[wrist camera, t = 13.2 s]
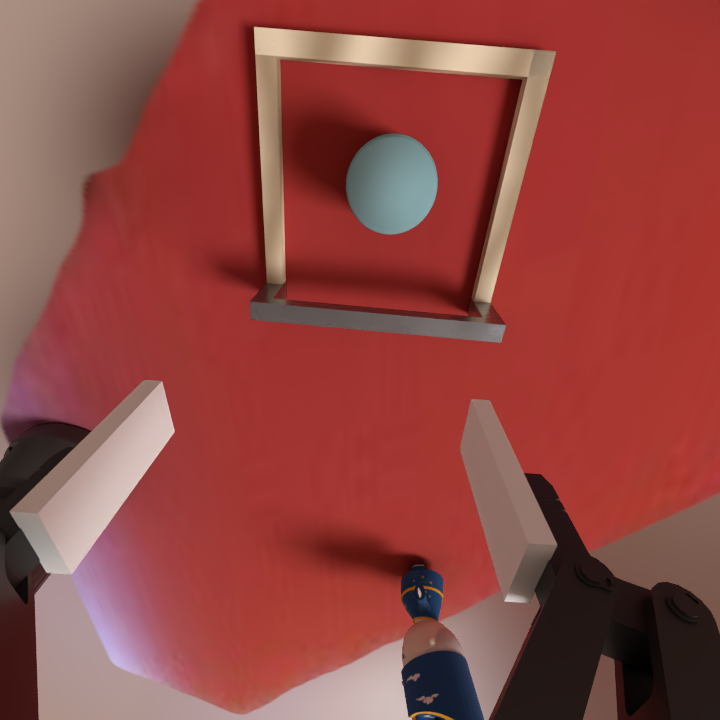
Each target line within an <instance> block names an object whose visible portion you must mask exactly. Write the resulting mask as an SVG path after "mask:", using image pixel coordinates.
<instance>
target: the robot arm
mask: <svg viewBox="0 0 720 720" xmlns="http://www.w3.org/2000/svg"><path fill="white" fill-rule="evenodd" d="M174 432H175V431H174V427H173V423H172V419H171V415H170V411H169V407H168V403H167V399H166V395H165V391H164V387H163V383H162V381H152V380H144V381H143V382H142V383H141V384H140V385H138V386H137V387H136V388H135V389H134V390H133V391H132V392H131V393H130V394H129V395H128V396H127V397H126V398H125V399H124V400H123V401H122V402H121V403H120V404H119V405H118V406H117V407H116V408H115V409H114V410H113V411H112V412H111V413H110V414H109V415H108V416H107V417H106V418H105V419H104V420H103V421H102V422H101V423H100V424H99V425H98V426H96V427H95V428H94V429H93V430H92V431H91V432H89V431H87V430H84V429H81V428H78V427H75V426H71V425H66V424H58V423H48V424H41V425H37V426H34V427H32V428H30V429H29V430H27V431H26V432H25V433H23V434H22V435H21V436H20V437H18V438H17V439H16V440H15V441H13V443H12V444H11V445H10V446H9V447H8V449H7V451H6V452H5V454H4V458H3V459H2V460H1V462H0V720H39V719H38V689H37V661H36V632H35V601H34V595H35V593H36V592H37V591H38V590H39V588H40V587H41V586H42V585H43V583H44V582H45V581H46V579H47V578H48V577H49V576H50V574H51V573H58V574H72V573H73V572H74V570H75V569H76V568H77V566H78V565H79V564H80V562H81V561H82V559H83V558H84V557H85V555H86V554H87V552H88V551H89V550H90V548H91V547H92V546H93V544H94V543H95V541H96V540H97V539H98V537H99V536H100V534H101V533H102V532H103V530H104V529H105V528H106V526H107V525H108V523H109V522H110V521H111V519H112V518H113V516H114V515H115V514H116V512H117V511H118V510H119V508H120V507H121V505H122V504H123V503H124V502H125V500H126V499H127V498H128V496H129V495H130V494H131V492H132V490H133V489H134V487H135V486H136V485H137V483H138V482H139V480H140V479H141V478H142V476H143V475H144V474H145V472H146V471H147V469H148V468H149V467H150V465H151V464H152V462H153V461H154V460H155V458H156V457H157V456H158V454H159V453H160V451H161V450H162V449H163V447H164V446H165V444H166V443H167V442H168V440H169V439H170V438H171V436H172V435H173V433H174ZM460 451H461V455H462V458H463V461H464V465H465V468H466V472H467V475H468V479H469V482H470V486H471V489H472V492H473V496H474V499H475V503H476V506H477V510H478V513H479V517H480V520H481V523H482V527H483V530H484V534H485V537H486V541H487V544H488V548H489V551H490V554H491V558H492V561H493V565H494V568H495V572H496V575H497V579H498V582H499V585H500V589H501V592H502V596H503V599H504V601H506V602H523V603H530V601H531V599H532V597H533V595H534V593H536V595H537V598H538V601H539V604H540V608H539V610H538V612H537V614H536V616H535V618H534V620H533V622H532V624H531V625H532V626H531V628H530V630H529V632H528V634H527V637H526V639H525V641H524V643H523V645H522V648H521V650H520V652H519V654H518V656H517V659H516V661H515V663H514V666H513V668H512V670H511V672H510V674H509V676H508V679H507V681H506V683H505V685H504V687H503V690H502V692H501V694H500V696H499V699H498V701H497V703H496V705H495V707H494V710H493V712H492V714H491V716H490V718H489V720H583V717H584V713H585V709H586V706H587V702H588V699H589V695H590V691H591V688H592V685H593V681H594V677H595V674H596V670H597V667H598V663H599V660H600V656H601V654H603V655H605V656H608V657H610V658H613V659H614V661H615V679H616V696H617V712H618V713H617V714H618V720H720V634H719V631H718V627H717V624H716V621H715V619H714V617H713V615H712V613H711V611H710V610H709V609H708V608H707V607H706V605H704V603H703V602H702V601H701V600H700V599H698V598H697V597H696V596H695V595H694V594H692V593H691V592H690V591H688V590H686V589H684V588H682V587H681V586H679V585H676V584H672V583H669V582H661V583H657V584H656V585H655V586H654V587H653V588H652V589H651V590H648V589H646V588H643V587H640V586H637V585H634V584H631V583H629V582H626V581H623V580H620V579H618V578H616V577H614V575H613V574H612V573H611V571H610V570H609V569H608V568H607V567H606V566H605V565H604V564H603V563H601V562H600V561H599V560H597V559H596V558H593V557H591V556H590V554H589V553H588V551H587V549H586V547H585V546H584V544H583V542H582V540H581V538H580V536H579V534H578V533H577V531H576V529H575V527H574V525H573V523H572V521H571V520H570V518H569V516H568V514H567V513H566V512H565V508H564V507H563V505H562V503H561V502H560V501H559V497H558V495H557V493H556V492H555V490H554V488H553V486H552V485H551V484H550V483H549V482H548V481H547V480H546V479H545V478H544V477H543V476H542V475H541V474H528V473H523V470H522V468H521V466H520V464H519V462H518V460H517V458H516V456H515V453H514V451H513V449H512V447H511V445H510V443H509V441H508V438H507V436H506V434H505V432H504V430H503V428H502V426H501V424H500V421H499V419H498V417H497V415H496V413H495V411H494V409H493V406H492V404H491V402H490V400H476V399H471V403H470V407H469V412H468V416H467V420H466V424H465V429H464V433H463V437H462V442H461V446H460Z"/></svg>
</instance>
